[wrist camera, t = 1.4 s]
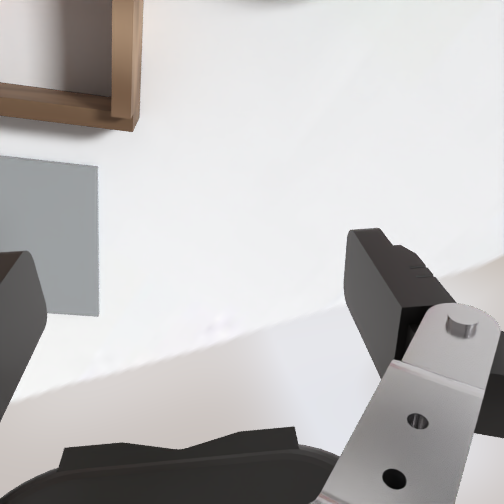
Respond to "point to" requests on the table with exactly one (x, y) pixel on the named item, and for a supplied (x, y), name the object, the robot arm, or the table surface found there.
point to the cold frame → (85, 105)
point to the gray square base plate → (54, 228)
